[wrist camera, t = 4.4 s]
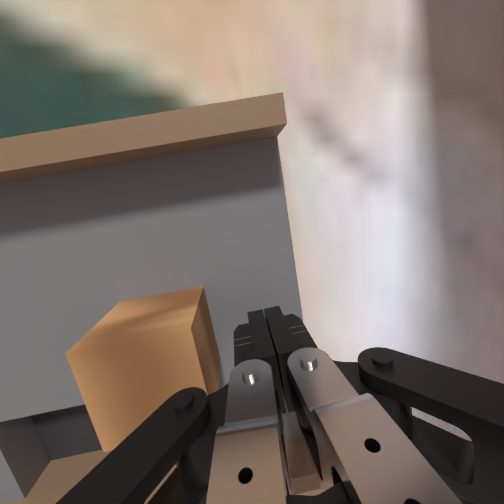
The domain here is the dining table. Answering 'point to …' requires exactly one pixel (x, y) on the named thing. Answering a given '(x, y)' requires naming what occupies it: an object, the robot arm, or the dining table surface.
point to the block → (144, 360)
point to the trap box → (131, 263)
